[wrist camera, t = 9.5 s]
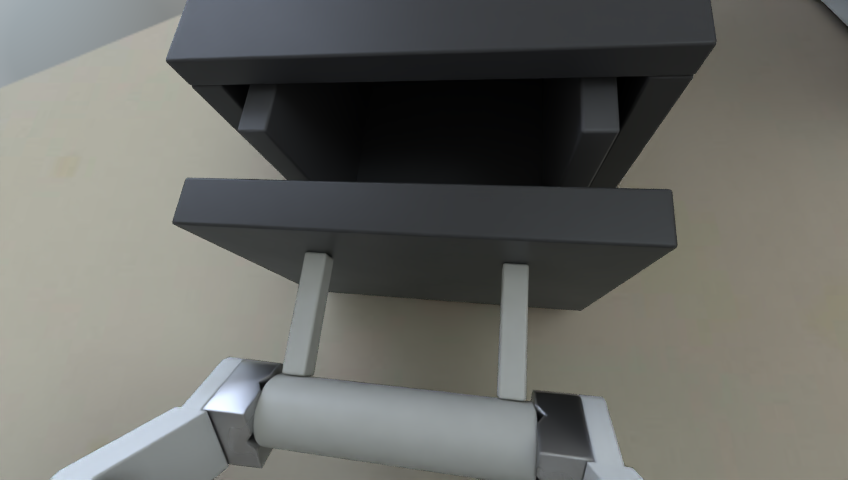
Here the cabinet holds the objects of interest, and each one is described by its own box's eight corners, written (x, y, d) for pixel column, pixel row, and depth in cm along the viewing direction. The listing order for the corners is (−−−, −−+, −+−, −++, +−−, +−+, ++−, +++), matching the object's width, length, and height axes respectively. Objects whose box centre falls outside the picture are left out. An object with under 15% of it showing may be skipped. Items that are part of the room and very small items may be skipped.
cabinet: (590, 226, 17) (718, 42, 7) (323, 215, 19) (163, 60, 9) (582, -23, 21) (659, -338, 12) (365, -10, 23) (283, -269, 14)
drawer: (584, 449, 13) (709, 545, 6) (290, 411, 15) (100, 447, 8) (576, 38, 18) (636, -186, 11) (357, 46, 20) (283, -142, 13)
